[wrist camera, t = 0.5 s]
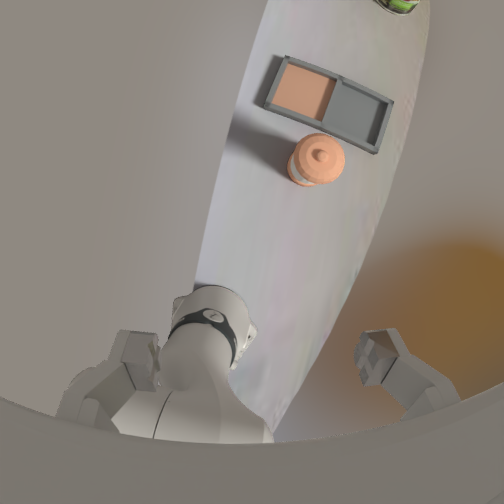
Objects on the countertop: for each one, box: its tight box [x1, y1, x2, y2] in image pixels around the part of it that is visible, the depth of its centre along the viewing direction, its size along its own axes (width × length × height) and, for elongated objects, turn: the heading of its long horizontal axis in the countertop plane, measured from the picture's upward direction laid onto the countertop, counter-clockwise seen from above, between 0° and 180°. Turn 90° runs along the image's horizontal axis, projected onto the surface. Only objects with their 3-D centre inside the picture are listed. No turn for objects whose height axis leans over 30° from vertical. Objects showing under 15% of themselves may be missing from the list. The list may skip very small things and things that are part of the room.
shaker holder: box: [264, 55, 394, 155], centre depth 48 cm, size 12×23×2 cm, turn 69°
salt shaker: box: [287, 133, 345, 186], centre depth 43 cm, size 7×7×19 cm
